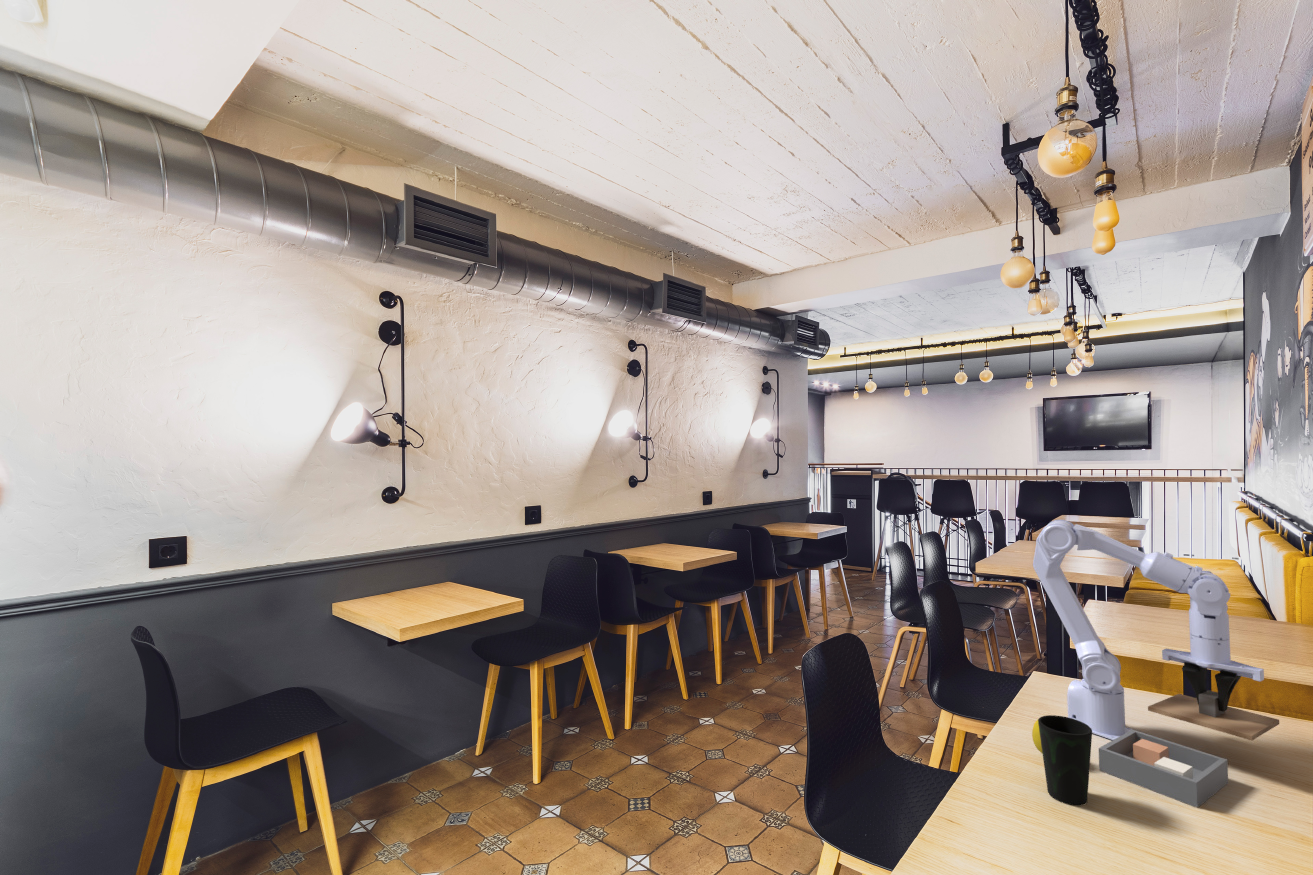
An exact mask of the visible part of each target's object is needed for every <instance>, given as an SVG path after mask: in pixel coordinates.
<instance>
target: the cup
mask: <svg viewBox="0 0 1313 875" xmlns="http://www.w3.org/2000/svg"><path fill="white" fill-rule="evenodd" d="M1037 720H1038V724H1039V732H1040V739H1041V746H1042V753H1043V754H1042V753H1041V754H1042V759H1043V760H1042V761H1043V766H1044V774H1045V781H1046V790H1047V794H1048V793H1049V794H1048V795H1049V797H1051V798H1052V799H1054V800H1055V801H1058V802H1060V803H1062V802H1063V804H1066V805H1069V806H1077V807H1079V806H1085V805H1086V804H1087V803H1088V795H1089V782H1090V780H1089V778H1090V766H1091V755H1092V754H1091V752H1092V739H1093V733H1092V729H1091V728H1090V727H1089V726H1088V725H1087V724H1085V723H1083V722H1081V721H1078V720H1075V719H1072V718H1068V716H1063V715H1062V716H1061V715H1052V714H1051V715H1043V716H1040V717H1039V718H1038V719H1037Z"/></svg>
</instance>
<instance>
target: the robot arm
mask: <svg viewBox="0 0 1313 875" xmlns="http://www.w3.org/2000/svg"><path fill="white" fill-rule="evenodd" d="M1074 546H1077V551H1091V550H1094V551H1097V552H1100V553H1102V554H1105V555H1107V556H1110V557H1112V558H1113V559H1116V560H1120V561H1122V562H1124V563H1127V564H1130V565H1132V566H1134V567H1137V568H1138V569H1139V570H1140V573H1141V575H1142V576H1143V577H1144V578H1146V579H1148V580H1151V581H1153V582H1155V583H1157V584H1160V585H1162V586H1164V587H1166V588H1169V589H1171V590H1172V591H1175V592H1178V593H1180V594H1188V595H1189V604H1190V605H1189V606H1190V607H1189V609H1188V623H1189V624H1188V625H1189V627H1188V628H1189V647H1190V649H1189V650H1190V651H1182V650H1176V649H1171V648H1164V649H1162V650H1161V652H1162V653H1161V655H1162V656H1161V657H1162V658H1161V659H1162V660H1164V661H1168V662H1169V661H1173V662H1177V663H1181V664H1183V667H1181V670H1182V673H1183V674H1184V676H1185V677H1186V679H1187V681H1188V683H1189V684H1190V686H1191V687H1192V690H1193V692H1194V694H1195V698H1197V701H1198V705H1199V694H1201V693H1203V692H1206V691H1207V685H1206V684H1207V671H1208V670H1213V671H1216V672H1218V673H1216V674H1215V675H1214V678H1215V679H1214V680H1215V683H1216V689H1217V692H1218V708H1219V711H1222V712H1224V711H1226V710H1227V707H1229V706H1228V705H1229V701H1230V698H1231V696H1232V693H1233V690H1234V689H1235V687H1236V685H1237V684H1238V683H1239V681H1240V679H1241V677H1244V678H1247V679H1252V680H1253V681H1257V682H1263V681H1264V680H1265V671H1264V670H1265V669H1264V668H1260V667H1256V666H1254V665H1253V666H1252V665H1249V664H1245V663H1242V662H1238V661H1235V660H1232V659H1231V640H1230V638H1231V636H1230V617H1229V615H1230V614H1228V604H1227V603H1228V601H1229V600H1230V598H1231V592H1230V591H1229V587H1228V586H1227V584H1226V583H1225V582H1224V580H1223V579H1222V578H1221V577H1220V576H1218V575H1216V574H1215V573H1213V572H1212V571H1210V570H1203V567H1201V566H1199V565H1195V567H1194V566H1192V565H1190V564H1187V563H1185V562H1183V561H1180V560H1178V559H1176V558H1173V557H1174V555H1173V554H1172V553H1169V552H1168V551H1165V552H1164V553H1162V552H1160V551H1154V552H1149V553H1145V552H1143V551H1141V550H1138V549H1137V548H1134V547H1132V546H1130V545H1128V544H1125V543H1123V542H1121V541H1119V540H1117V539H1114V538H1112V537H1110V536H1108V535H1106V534H1103V533H1102V532H1099V531H1097V530H1095V529H1092V528H1090V527H1087V526H1084V525H1080V524H1077V523H1076V524H1073V523H1072V522H1070V521H1069V520H1066V519H1054V520H1052V521H1049V523H1048V524H1047V525H1046V526H1044V527H1043V528H1042V530H1041V531H1040V533H1039V534H1038V536H1037V538H1036V541H1035V547H1034V548H1035V550H1034V556H1033V562H1032V566H1033V569H1034V572H1035V574H1036V575H1037V577H1038V579H1039V582H1041V584H1042V587H1043V588H1044V590H1045V592H1046V594H1047V596H1048V598H1049V599H1050V602H1051V603H1052V605H1053V607H1054V609H1055V612H1057V615H1058V616H1059V618H1060V621H1061V622H1062V624H1063V626H1064V628H1065V630H1066V632H1067V634H1068V635H1069V637H1070V639H1071V642H1072V643H1073V646H1074V648H1075V651H1076V654H1077V657H1078V660H1079V662H1080V664H1081V666H1082V667H1081V668H1082V679H1081V680H1078V679H1074V680H1072V681H1071V682H1070V683H1069V685H1068V688H1067V693H1066V696H1067V697H1066V698H1067V699H1066V700H1067V717H1068V718H1072V719H1075V720H1078V721H1081V722H1083V723H1085V724H1087V725H1088V726H1089V727H1090V728H1091V729H1092V735H1097V736H1100V737H1103V738H1106V739H1107V740H1108V739H1109V740H1111V741H1113V740H1114V739H1116V738H1118V737H1120V736H1122V735H1123V734H1125V733H1127V732H1129V731H1131V730H1134V729H1133V728H1130V727H1126V710H1125V708H1126V706H1125V688H1124V687H1123V686H1122V684H1121V676H1120V675H1121V671H1122V669H1121V668H1122V665H1121V662H1120V661H1119V659H1118V657H1117V656H1116V655H1115V654H1113V653H1112V652H1111V651H1110V650H1108V649H1107V647H1106V645H1105V643H1104V642H1103V641H1102V639H1101V638H1100V637H1099V636H1098V634H1097V632H1096V630H1095V629H1094V627H1093V625H1092V623H1091V621H1090V618H1088V616H1087V614H1086V612H1085V610H1084V608H1083V607H1082V604H1081V603H1080V600H1079V599H1078V597H1077V595H1076V593H1075V592H1074V590H1073V588H1072V585H1070V582H1069V581H1068V579H1067V577H1066V575H1065V573H1064V572H1063V570H1062V567H1061V565H1062V563H1063V561H1064V558H1065V557H1066V554H1068V553H1070V551H1071V550H1072V549H1073V548H1074Z"/></svg>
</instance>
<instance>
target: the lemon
mask: <svg viewBox="0 0 1313 875" xmlns="http://www.w3.org/2000/svg"><path fill="white" fill-rule="evenodd" d="M1031 730H1032V732H1031V736H1032V741H1033V744H1034V747H1035V748H1036V750H1038V752H1040V754H1042V755H1043V753H1042V746H1041V739H1040V732H1039V724H1038V719H1037V720H1035V722H1034V723H1033V726H1032V729H1031Z"/></svg>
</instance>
